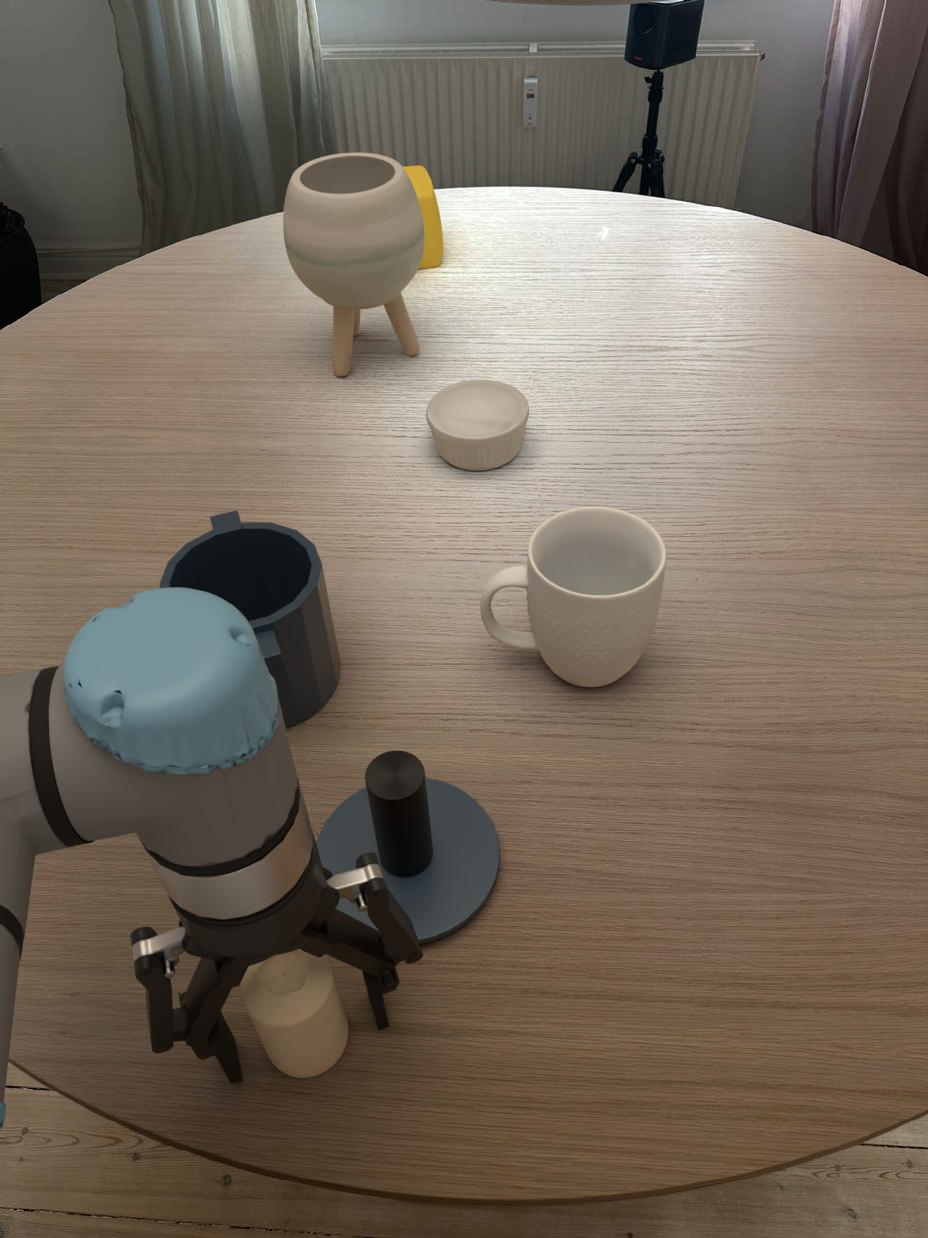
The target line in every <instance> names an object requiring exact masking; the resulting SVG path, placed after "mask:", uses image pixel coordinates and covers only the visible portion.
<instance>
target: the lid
mask: <svg viewBox="0 0 928 1238" xmlns="http://www.w3.org/2000/svg"><path fill="white" fill-rule="evenodd" d="M364 783H365V787H363V788H362V789H360V790H358V791H356V792H355V793H353V794H351V795H350V796H349V797H348V798H346V799H345V800H344V801H342V802H341V803H340V804H339V805H338V806H337V807H336V809H334V811H332V813H331V814H330V815H329V817H328V818H327V819H326V821H325V822H324V824H323V826H322V828H321V830H320V832H319V834H318V837H317V839H316V845H317V849H318V852H319V856H320V860H321V863H322V867H324V868H326V869H328V870H329V871H331V872H332V874H333V875H336V874H340V873H344V872H348V871H351V870H355V869H356V860H357V858H358V857H359V856H361V855H362V854H365V853H369V852H372V853H375V854H376V855H377V858H378V861H379V864H380V867H381V870H382V873H383V876H384V879H385V882H386V885H387V888H388V889H389V890H390V892H391V893H392V894H393V896H394V897H395V899H396V900H397V901H398V903H399V904H400V905H401V907H402V908H403V909H404V911H405V912H406V913H407V915H408V916H409V918H410V919H411V921H412V924H413V927H414V930H415V932H416V935H417V938H418V941H419V944H425V943H429V942H433V941H437V940H439V939H441V938H443V937H446V936H448V935H450V934H452V933H453V932H455V931H458V930H459V929H460V928H462V927H463V926H464V925H466V923H468V922H470V921H471V919H473V917H475V916H476V915H477V914H478V913H479V911H480V910H481V909H482V908H483V907H484V905H485V904H486V902H487V901H488V899H489V897H490V895H492V892H493V890H494V888H495V885H496V883H497V879H498V874H499V871H500V870H499V869H500V862H501V861H500V860H501V855H500V844H499V838H498V834H497V830H496V828H495V826H494V824H493V822H492V820H491V818H490V816H489V814H488V813H487V811H486V810H485V809H484V807H483V806H482V805H481V804H480V803H479V802H478V801H477V800H476V799H475V798H474V797H472V796H471V795H470V794H469V793H467V792H466V791H464V790H462V789H461V788H459V787H458V786H455V785H453V784H452V783H451V784H450V783H448V782H446V781H442V780H439V779H435V778H430V777H426V772H425V767H424V764H423V762H422V761H421V760H420V758H418V757H417V756H416V755H414V754H413V753H410V752H409V751H405V750H398V749H397V750H389V751H386V752H385V751H384V752H382V753H381V754H379V755H377V756H376V757H375V758H373V759H372V760H371V761H370V762H369V764H368V765H367V767H366V770H365V772H364ZM336 909H337V910H339V911H341V912H343V913H345V914H347V915H349V916H351V917H353V918H355V919H357V920H359V921H361V922H363V923H364V924H366V925H368V926H370V927H372V928H374V929H376V930H378V929H377V928H376V926H375V925H374V924H373V923H372V921H371V920H370V918H369V916H368V913H367V910H366V911H364V912H360V911H359V910H358V907H357V904H353V903H351V902H350V900H349V899H347V898H340V899H339V903H338V905H337V907H336ZM378 931H379V930H378Z"/></svg>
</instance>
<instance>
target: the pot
mask: <svg viewBox="0 0 928 1238" xmlns="http://www.w3.org/2000/svg"><path fill="white" fill-rule="evenodd" d="M209 521H210V523H211V527H212V529H211V530H209V531H207V532H205V533H203V534H201V535H200V536H198V537H196V538H194V539H193V540H190V541H187V543H185V544H184V545H183V546H182V547H181V548H180V549H179V550H178V551H177V552H175V554H174V555H173V556H172V557H171V558H170V559H169V560H168V561H167V563H166V566H165V568H164V570H163V572H162V573H163V574H162V576H161V579H160V581H159V588H177V587H180V588H189V589H195V590H200V591H204V592H208V593H210V594H213V595H216V596H218V597H220V598H222V599H224V600H225V601H227V602H228V603H230V604H232V605H233V606H234V607H235V608H236V609H238V610H239V611H240V612H241V613H242V614H243V616H244V617H245V618H246V619H247V621H248V622H249V624H250V625H251V627H252V629H253V631H254V634H255V636H256V639H257V642H258V645H259V647H260V650H261V653H262V656H263V658H264V661H265V664H266V667H267V668H268V672H269V673H270V675H271V676H272V677H273V678H274V680H275V682H276V686H277V691H278V698H279V703H280V707H281V711H282V715H283V719H284V723H285V728H286V729H290V728H292V727H294V726H296V725H299V724H301V723H303V722H305V721H306V720H308V719H309V718H311V717H312V716H314V715H315V714H317V713H318V712H320V711H321V709H322V708H323V707H324V706H326V704H327V703H328V702H329V701H330V699H331V698H332V696H333V695H334V693H335V691H336V689H337V686H338V684H339V680H340V674H341V658H340V654H339V653H340V652H339V647H338V643H337V638H336V633H335V627H334V622H333V617H332V610H331V606H330V605H331V604H330V600H329V594H328V588H327V583H326V577H325V572H324V568H323V563H322V560H321V557H320V555H319V552H318V549H317V547H316V545H315V543H314V542H312V541H311V540H310V539H308V538H307V537H306V536H305V535H303V534H302V533H301V532H300V531H299V530H297V529H294V528H291V527H288V526H285V525H281V524H278V523H275V522H269V521H268V522H267V521H266V522H264V521H263V522H260V521H259V522H258V521H255V522H254V521H242V520H241V518H240V515H239V511H238V510H231V511H227V512H223V513H220V514H215V515H211V516H209Z"/></svg>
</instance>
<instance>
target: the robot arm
mask: <svg viewBox="0 0 928 1238" xmlns="http://www.w3.org/2000/svg"><path fill="white" fill-rule="evenodd" d="M309 815H310V814H309V812H308V807H307V804H306V801H305V796H304V793H303V789H302V786H301V781H300V779H299V777H298V773H297V769H296V765H295V761H294V757H293V752H292V749H291V744H290V740H289V736H288V731H287V728H285V723H284V719H283V715H282V711H281V707H280V703H279V698H278V691H277V686H276V682H275V680H274V678H273V677H272V676H271V675H270V673H269V672H268V668H267V667H266V664H265V661H264V658H263V656H262V653H261V650H260V647H259V645H258V642H257V639H256V636H255V634H254V631H253V629H252V627H251V625H250V624H249V622H248V621H247V619H246V618H245V617H244V616H243V614H242V613H241V612H240V611H239V610H238V609H236V608H235V607H234V606H233V605H232V604H230V603H228V602H227V601H225V600H224V599H222V598H220V597H218V596H216V595H213V594H210V593H208V592H204V591H200V590H195V589H189V588H180V587H177V588H160V587H159V588H153V589H150V590H149V589H148V590H144V591H140V592H136V593H134V594H132V595H131V596H130V599H129V601H128V602H126V603H124V604H122V605H121V606H118V607H104V609H102V610H99V611H98V612H97V613H96V614H94V615H93V616H92V617H91V618H90V619H89V620H87V621H86V622H85V623H84V624H83V625H82V627H81V628H80V629H79V630H78V631H77V632H76V634H75V635H74V637H73V639H72V640H71V642H70V643H69V647H68V649H67V650H66V652H65V657H64V662H62V663H61V664H59V665H56V666H55V665H54V666H49V667H44V668H38V669H33V670H32V669H31V670H24V671H18V672H10V673H5V674H4V673H3V674H0V1131H1V1130H2V1129H3V1127H4V1124H5V1121H6V1120H5V1118H6V1113H7V1112H6V1111H7V1104H6V1103H5V1094H6V1086H7V1076H8V1068H9V1057H10V1049H11V1042H12V1041H11V1040H12V1030H13V1022H14V1015H15V1005H16V996H17V995H16V994H17V987H18V978H19V970H20V969H19V967H20V963H21V960H22V955H23V948H24V940H25V937H26V930H27V929H26V928H27V922H28V914H29V907H30V901H31V893H32V891H31V890H32V885H33V884H32V883H33V876H34V869H35V861H36V857H37V855H41V854H45V853H51V852H55V851H60V850H65V849H69V848H73V847H76V846H83V845H87V844H92V843H94V842H96V841H99V840H105V839H110V838H111V839H112V838H115V837H120V836H121V837H122V836H126V835H131V834H136V836H137V837H138V839H139V841H140V843H141V845H142V846H143V848H144V850H145V852H146V855H147V856H148V858H149V860H150V863H151V864H152V867H153V869H154V871H155V873H156V875H157V877H158V879H159V881H160V883H161V886H162V887H163V889H164V890H165V892H166V894H167V897H168V899H169V900H170V903H171V904H172V907H173V909H174V911H175V913H176V915H177V916H178V918H179V920H178V927H174V928H172V929H170V930H167V931H165V932H162V933H160V934H158V932H156V931H155V930H154V928H152V927H151V926H140V927H137V928H136V929H134V930H132V931H131V932H130V935H129V938H130V945H131V952H132V953H131V954H132V963H133V969H134V970H133V971H134V976H135V979H136V980H137V981H138V982H139V983H140V984H141V985H142V986H143V987H144V990H145V1005H146V1016H147V1023H148V1024H147V1025H148V1030H149V1039H150V1046H151V1047H150V1048H151V1052H152V1053H154V1054H163V1053H166V1052H168V1051H170V1050H172V1049H173V1047H174V1043H175V1042H185V1045H186V1047H187V1046H188V1047H190V1048H191V1049H192V1051H193V1053H194V1054H195V1056H196V1058H197V1059H198V1060H201V1061H204V1060H207V1059H209V1058H213V1057H215V1058H216V1060H217V1062H218V1063H219V1066H220V1067H221V1069H222V1070H223V1073H224V1074H225V1077H226V1078H227V1079H228V1082H230V1084H231V1085H234V1084H236V1083H238V1082H239V1083H240V1082H241V1081H244V1078H243V1073H242V1068H241V1061H240V1059H239V1058H240V1057H239V1052H238V1047H237V1042H236V1038H235V1036H234V1034H233V1032H232V1030H231V1028H230V1026H229V1025H228V1023H227V1020H226V1019H225V1016H224V1014H223V1012H222V1010H223V1007H224V1005H225V1004H226V1001H227V1000H228V998H229V995H230V993H231V991H232V990H233V988H235V987H240V986H241V981H242V979H243V977H244V975H245V973H246V971H247V969H248V967H249V966H251V965H254V964H257V963H260V962H262V961H265V960H267V959H269V958H271V957H273V956H275V955H280V954H284V953H289V952H292V951H295V950H298V949H300V950H302V951H304V952H306V953H309V954H311V955H313V956H315V957H318V958H320V957H322V956H324V955H325V954H327V955H328V957H331V958H333V959H335V960H338V961H340V962H342V963H344V964H346V965H348V966H351V967H353V968H356V969H358V970H360V971H361V972H362V976H363V979H364V985H365V989H366V992H367V996H368V999H369V1002H370V1006H371V1010H372V1013H373V1017H374V1021H375V1023H376V1027H377V1030H378V1031H380V1030H384V1029H386V1028H389V1027H390V1023H389V1019H388V1013H387V1009H386V1006H385V1005H386V1004H385V1001H384V996H383V995H386V994H388V993H392V992H394V991H397V989H398V987H399V984H400V983H401V981H400V978H399V974H398V971H397V968H396V967H397V966H398V965H399V964H400V963H401V962H404V964H408V965H410V964H414V963H418V962H419V961H421V960H422V959H423V957H424V953H423V950H422V948H421V945H420V944H419V941H418V938H417V935H416V932H415V930H414V927H413V924H412V921H411V919H410V918H409V916H408V915H407V913H406V912H405V911H404V909H403V908H402V907H401V905H400V904H399V903H398V901H397V900H396V899H395V897H394V896H393V894H392V893H391V892H390V890H389V889H388V888H387V885H386V882H385V879H384V876H383V873H382V870H381V867H380V864H379V861H378V858H377V855H376V854H375V853H372V852H369V853H365V854H362V855H361V856H359V857H358V858H357V860H356V869H355V870H351V871H348V872H344V873H340V874H336V875H333V874H332V872H331V871H329V870H328V869H326V868H324V867H322V863H321V860H320V856H319V852H318V849H317V845H316V842H317V840H316V838H315V835H314V831H313V827H312V824H311V820H310V816H309ZM340 898H347V899H349V900H350V902H351V903H353V904H357V907H358V910H359V911H360V912H364V911H366V910H367V913H368V916H369V918H370V920H371V921H372V923H373V924H374V925H375V926H376V928H377V929H378V930H379V931H378V930H376V929H374V928H372V927H370V926H368V925H366V924H364V923H363V922H361V921H359V920H357V919H355V918H353V917H351V916H349V915H347V914H345V913H343V912H341V911H339V910H337V909H336V907H337V905H338V903H339V899H340ZM184 952H185V953H187V954H188V955H190V956H193V957H197V958H200V959H199V962H198V963H197V966H196V968H195V971H194V973H193V975H192V977H191V979H190V981H189V983H188V986H187V988H186V991H183V992H182V993H181V992H179V991H178V993H177V994H178V1000H179V1008H178V1007H177V1008H173V1007H174V1005H173V1003H174V1001H173V985H172V980H171V978H174V976H176V969H175V967H176V966H177V965H178V964H179V963H180V955H181V954H183V953H184Z"/></svg>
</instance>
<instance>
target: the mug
mask: <svg viewBox="0 0 928 1238" xmlns="http://www.w3.org/2000/svg"><path fill="white" fill-rule="evenodd" d="M526 558H527V559H526V560H527V562H526V565H524V564H523V565H515V566H510V567H507V568H504V569H502V570H499V571H498V572H496V573H495V574H494V575H493V576H492V577H491V578H490V579H489V580H488V581H487V583H486V585H485V587H484V588H483V591H482V594H481V597H480V605H479V606H480V607H479V611H480V617H481V621H482V625H483V627H484V628H485V630H486V632H487V633H488V635H490V636H491V637H492V638H493V639H494V640H495V641H496V642H499V643H501V644H503V645H505V646H509V647H513V648H517V649H522V650H523V649H524V650H531V651H538V652H539V653H540V656H541V658H542V659H543V661H544V663H545V664H546V666H548V667H549V669H550V670H551V671H552V672H553V673H554V674H555V675H556V676H558V677H559V678H560V679H561V680H563V681H564V682H567V683H569V684H572V685H574V686H577V687H583V688H598V687H603V686H606V685H610V684H611V683H614V682H616V681H618V680H619V679H620V678H622V677H624V675H625V674H627V673H628V672H629V671H630V670H631V669H632V668H633V667H634V666H635V665H636V664H637V662H638V661H639V659H641V657H642V655H643V653H644V652H645V651H646V650H647V646H648V644H649V643H650V642H651V638H652V635H653V633H654V631H655V626H656V625H657V624H656V623H657V621H658V615H659V611H660V604H661V602H662V594H663V589H664V582H665V581H664V580H665V572H666V567H667V549H666V546H665V543H664V540H663V539H662V537H661V535H660V534H659V532H658V531H657V530H656V528H655V527H654V526H653V525H651V524H650V523H649V522H648V521H646V520H645V519H643V518H641V517H639V516H637V515H635V514H633V513H631V512H628V511H625V510H622V509H618V508H613V507H607V506H579V507H574V508H570V509H569V508H568V509H566V510H564V511H561V512H558V513H556V514H554V515H552V516H550V517H548V518H547V519H546V520H544V521H543V522H542V523H540V524H539V525H538V527H537V528H536V529H535V530H534V531H533V533H532V534H531V537H530V539H529V542H528V545H527V557H526ZM512 587H513V588H521V589H526V601H527V614H528V622H529V625H530V631H519V630H515V629H510V628H508V627H505V626H503V625H502V624H500V623H499V621H497V619H496V618H495V615H494V613H493V610H492V601H493V599H494V596H495V595H496V594H497V592H499V591H500V590H502V589H505V588H512Z"/></svg>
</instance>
